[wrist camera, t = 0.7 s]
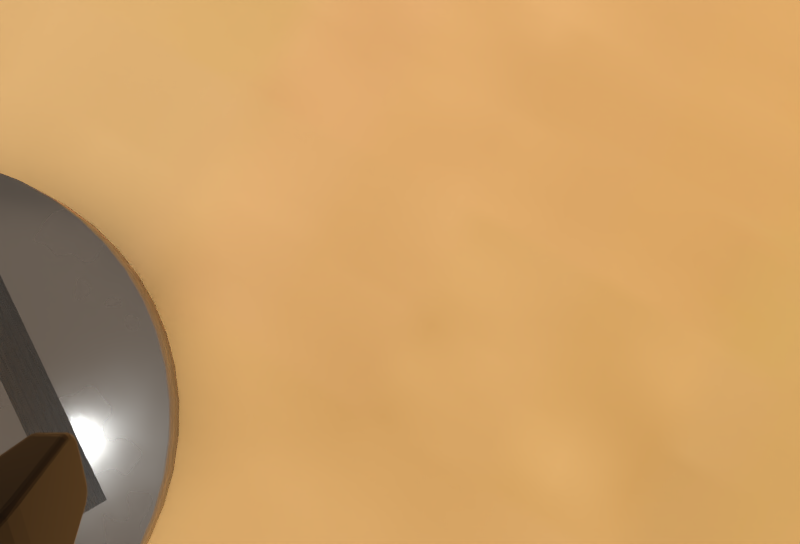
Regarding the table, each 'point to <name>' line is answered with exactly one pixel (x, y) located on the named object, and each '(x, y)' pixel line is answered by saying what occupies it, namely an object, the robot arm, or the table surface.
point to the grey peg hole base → (85, 361)
